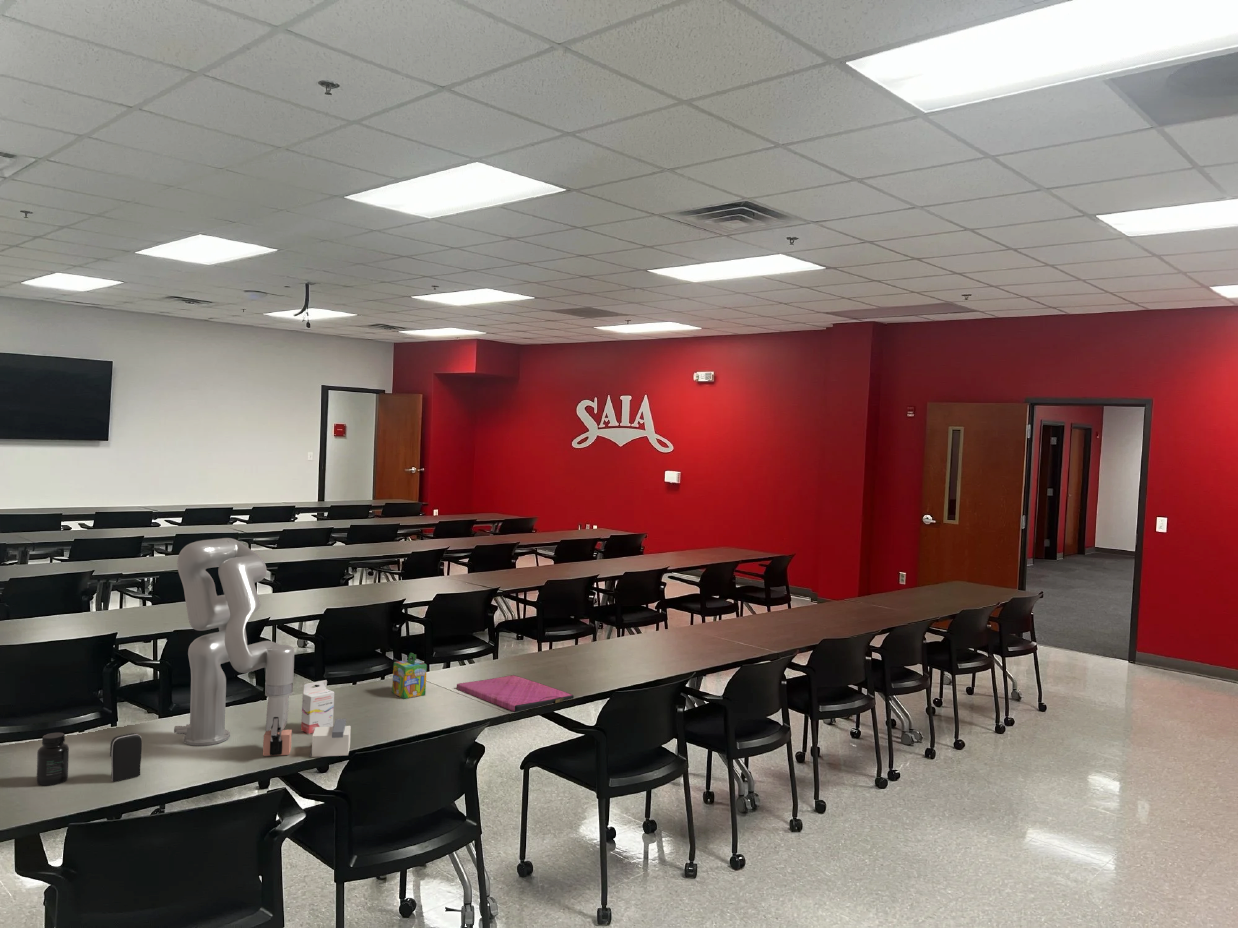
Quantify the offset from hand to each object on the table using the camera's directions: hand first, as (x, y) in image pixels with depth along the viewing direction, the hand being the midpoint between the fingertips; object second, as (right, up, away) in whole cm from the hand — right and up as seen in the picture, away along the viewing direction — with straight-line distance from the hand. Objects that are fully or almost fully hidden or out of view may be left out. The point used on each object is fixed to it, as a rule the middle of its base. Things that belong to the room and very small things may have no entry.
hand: (277, 750), depth 245 cm
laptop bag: (+62, -3, +67) cm, 91 cm away
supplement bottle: (-48, 0, -25) cm, 55 cm away
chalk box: (+23, -1, +62) cm, 66 cm away
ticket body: (+15, -1, +4) cm, 15 cm away
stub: (0, -1, 0) cm, 1 cm away
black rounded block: (-32, 0, -21) cm, 38 cm away
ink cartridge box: (+4, -1, +22) cm, 22 cm away
